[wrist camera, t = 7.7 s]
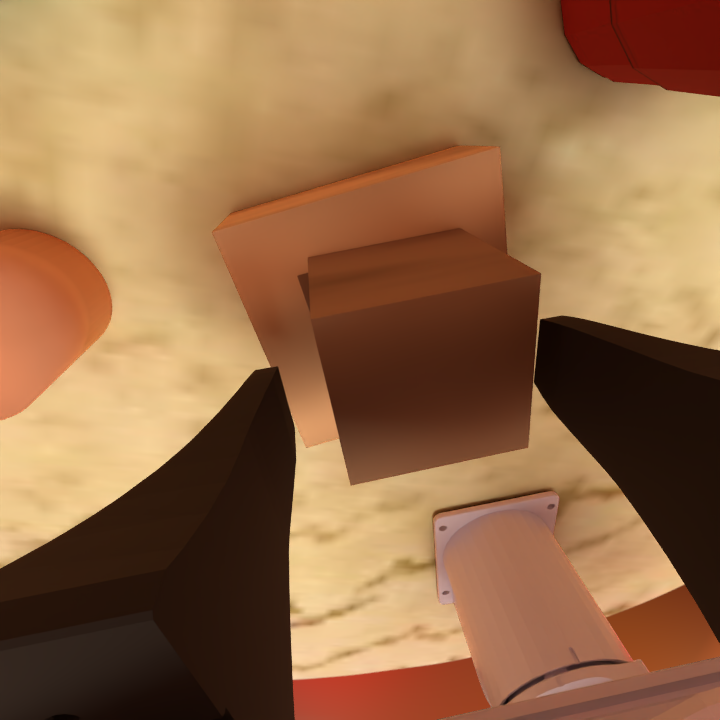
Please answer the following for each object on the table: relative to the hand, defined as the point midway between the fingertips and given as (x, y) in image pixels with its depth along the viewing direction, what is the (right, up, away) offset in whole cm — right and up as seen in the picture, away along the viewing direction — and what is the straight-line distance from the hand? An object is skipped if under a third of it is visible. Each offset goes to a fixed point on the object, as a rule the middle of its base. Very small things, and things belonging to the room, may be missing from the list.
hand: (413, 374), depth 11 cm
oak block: (-1, +4, +7) cm, 8 cm away
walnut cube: (0, +2, +3) cm, 4 cm away
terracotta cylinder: (-14, +3, +5) cm, 15 cm away
